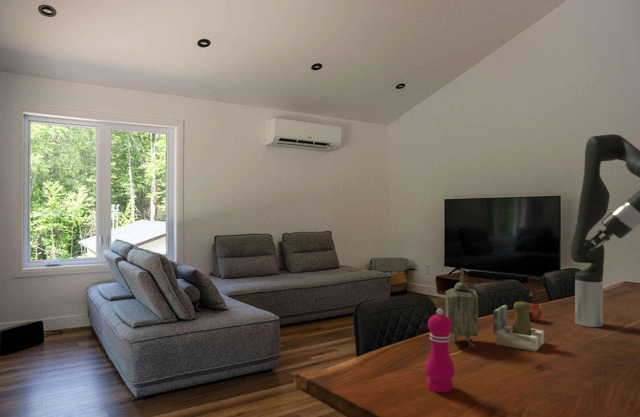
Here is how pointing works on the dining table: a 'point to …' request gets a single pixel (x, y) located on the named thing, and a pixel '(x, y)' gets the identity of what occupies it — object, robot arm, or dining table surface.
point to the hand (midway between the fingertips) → (580, 254)
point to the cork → (522, 318)
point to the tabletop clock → (462, 310)
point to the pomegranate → (534, 312)
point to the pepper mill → (439, 354)
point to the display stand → (514, 339)
